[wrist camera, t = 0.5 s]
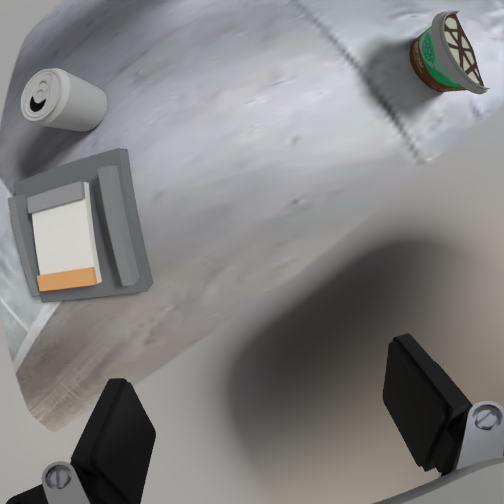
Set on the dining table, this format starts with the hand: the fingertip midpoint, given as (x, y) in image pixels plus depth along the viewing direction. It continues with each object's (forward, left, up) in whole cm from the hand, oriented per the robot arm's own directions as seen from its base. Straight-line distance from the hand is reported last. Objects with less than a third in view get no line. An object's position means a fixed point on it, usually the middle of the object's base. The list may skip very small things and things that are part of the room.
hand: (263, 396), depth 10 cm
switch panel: (-3, -22, -30) cm, 37 cm away
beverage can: (-19, -18, -30) cm, 40 cm away
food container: (-21, +29, -30) cm, 46 cm away
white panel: (-3, -22, -24) cm, 33 cm away
